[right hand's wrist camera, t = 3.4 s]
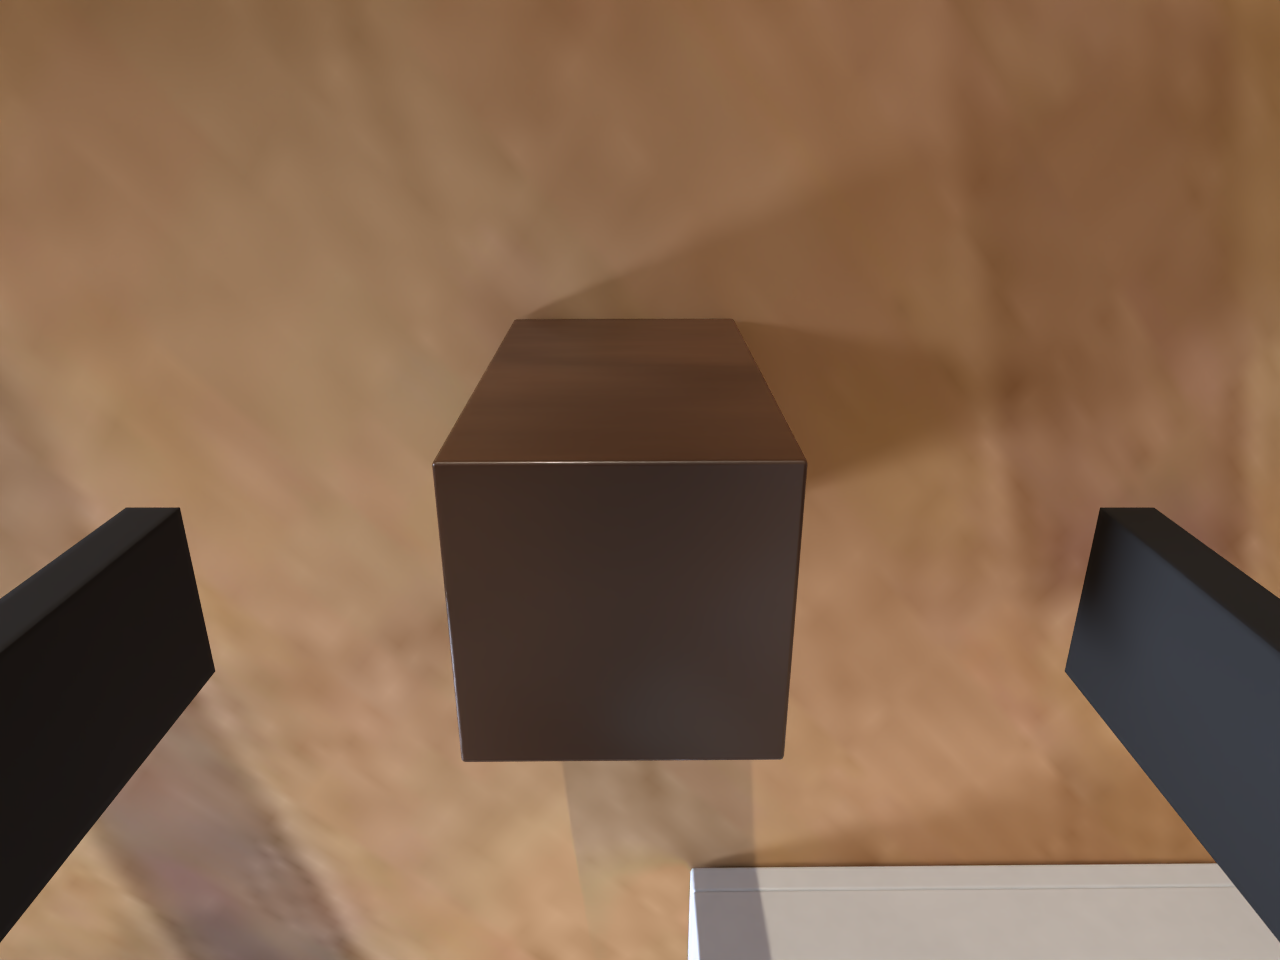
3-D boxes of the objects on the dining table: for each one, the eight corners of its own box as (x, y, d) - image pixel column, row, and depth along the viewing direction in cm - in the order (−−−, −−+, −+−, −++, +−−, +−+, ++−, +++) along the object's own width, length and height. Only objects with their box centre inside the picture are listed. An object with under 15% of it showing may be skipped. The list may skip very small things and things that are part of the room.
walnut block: (525, 518, 19) (460, 763, 12) (514, 319, 18) (431, 462, 10) (725, 516, 19) (784, 760, 12) (733, 318, 18) (809, 460, 10)
